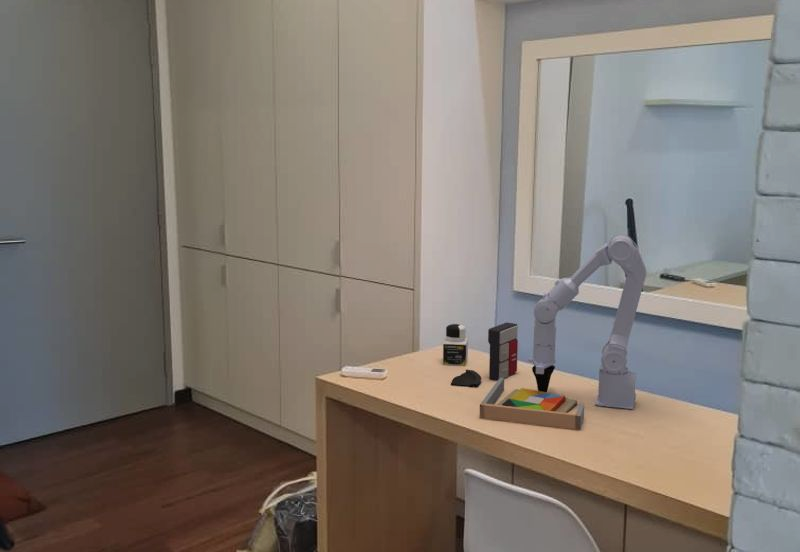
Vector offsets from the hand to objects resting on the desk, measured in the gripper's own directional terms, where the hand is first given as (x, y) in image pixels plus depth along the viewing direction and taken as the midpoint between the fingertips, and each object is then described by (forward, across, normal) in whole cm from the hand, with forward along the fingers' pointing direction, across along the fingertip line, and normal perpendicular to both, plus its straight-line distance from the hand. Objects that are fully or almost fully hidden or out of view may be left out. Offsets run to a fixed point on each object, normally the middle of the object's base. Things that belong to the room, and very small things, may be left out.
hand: (542, 392), depth 201 cm
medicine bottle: (+1, -24, -31) cm, 39 cm away
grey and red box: (+1, -15, -14) cm, 20 cm away
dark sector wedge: (+2, -7, -22) cm, 23 cm away
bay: (+1, +10, 0) cm, 10 cm away
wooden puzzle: (+2, +10, -1) cm, 10 cm away
